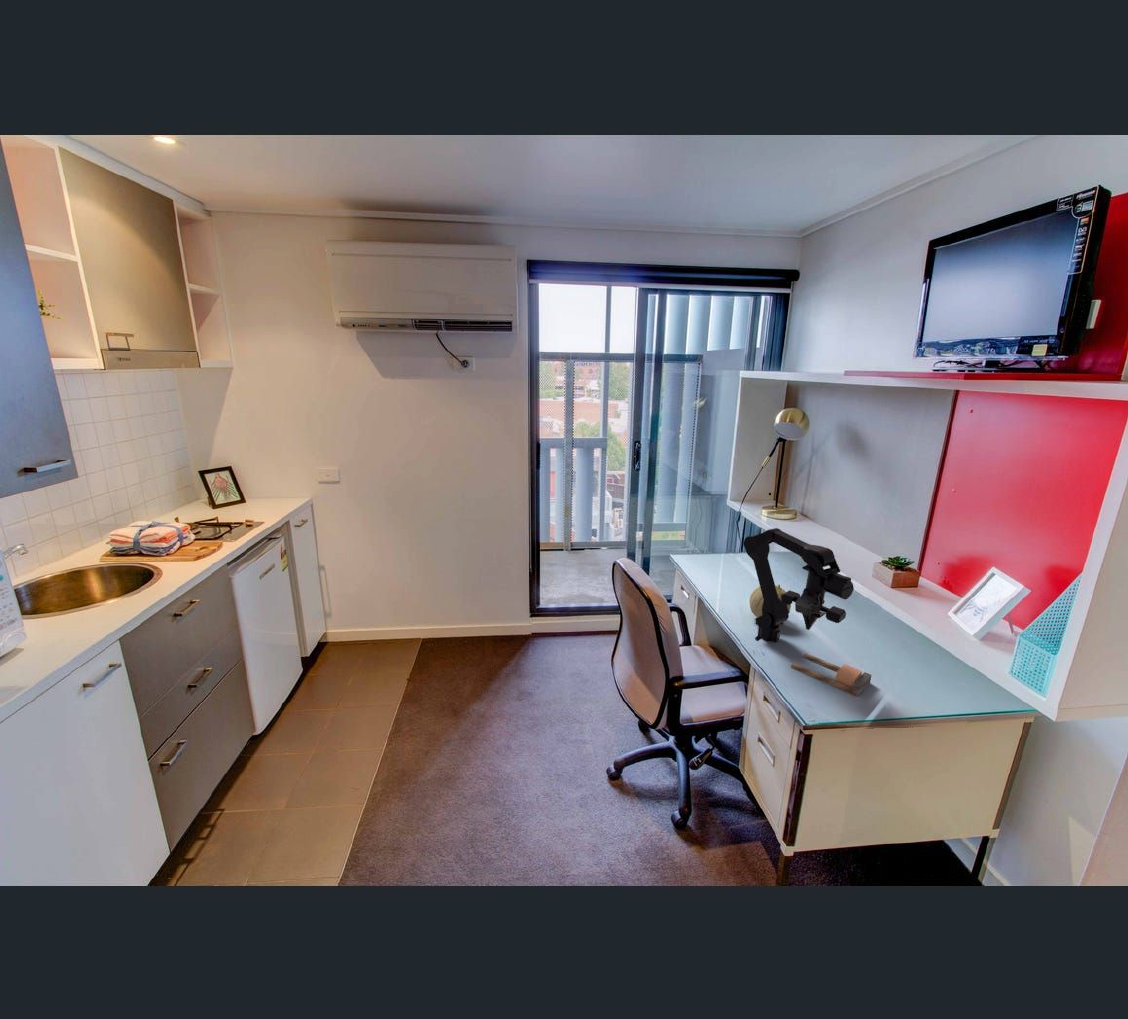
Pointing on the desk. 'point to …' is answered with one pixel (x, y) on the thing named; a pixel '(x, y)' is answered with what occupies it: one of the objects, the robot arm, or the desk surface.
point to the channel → (856, 687)
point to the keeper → (848, 675)
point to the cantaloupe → (757, 600)
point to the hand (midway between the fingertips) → (808, 629)
